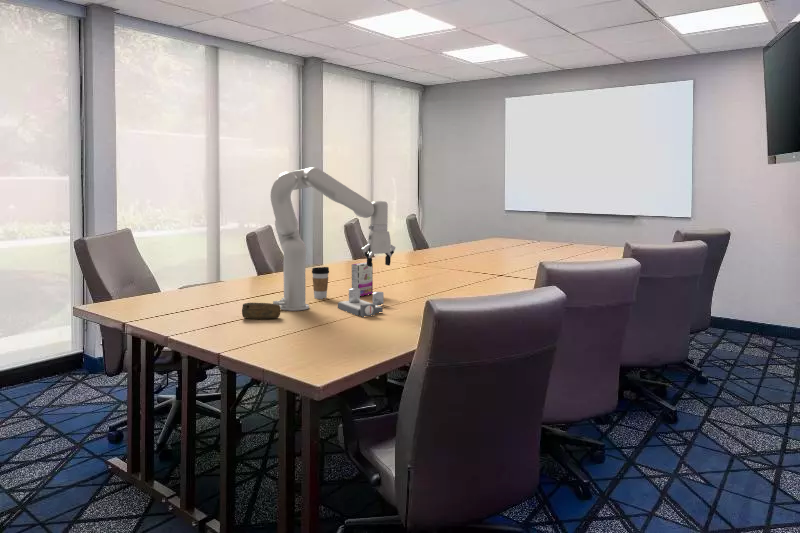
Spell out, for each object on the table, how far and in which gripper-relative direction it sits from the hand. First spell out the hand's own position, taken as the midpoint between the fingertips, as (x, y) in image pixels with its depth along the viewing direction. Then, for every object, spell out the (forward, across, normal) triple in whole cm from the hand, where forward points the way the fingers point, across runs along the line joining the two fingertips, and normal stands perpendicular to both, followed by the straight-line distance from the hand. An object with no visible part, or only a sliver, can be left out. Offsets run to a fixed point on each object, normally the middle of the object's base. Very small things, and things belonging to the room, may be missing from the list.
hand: (378, 265), depth 271 cm
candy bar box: (+19, +5, +25) cm, 31 cm away
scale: (+18, -14, -9) cm, 25 cm away
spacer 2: (+18, 0, 0) cm, 18 cm away
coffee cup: (+19, -16, +29) cm, 38 cm away
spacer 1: (+15, -14, -2) cm, 21 cm away
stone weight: (+19, -57, -2) cm, 60 cm away
